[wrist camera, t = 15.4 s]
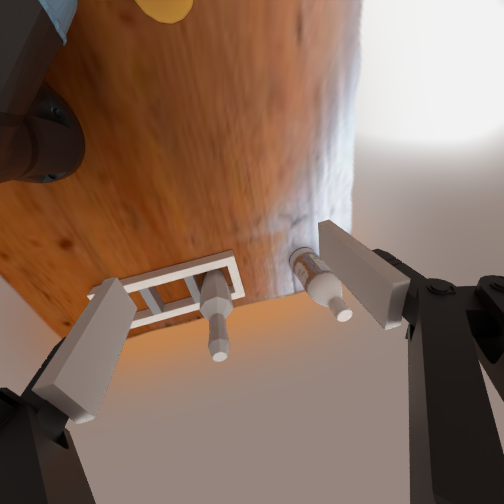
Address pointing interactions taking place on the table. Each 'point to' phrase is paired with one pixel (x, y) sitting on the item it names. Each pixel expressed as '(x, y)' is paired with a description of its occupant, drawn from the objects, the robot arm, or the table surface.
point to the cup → (166, 9)
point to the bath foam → (320, 282)
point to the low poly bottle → (216, 312)
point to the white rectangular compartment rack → (175, 272)
